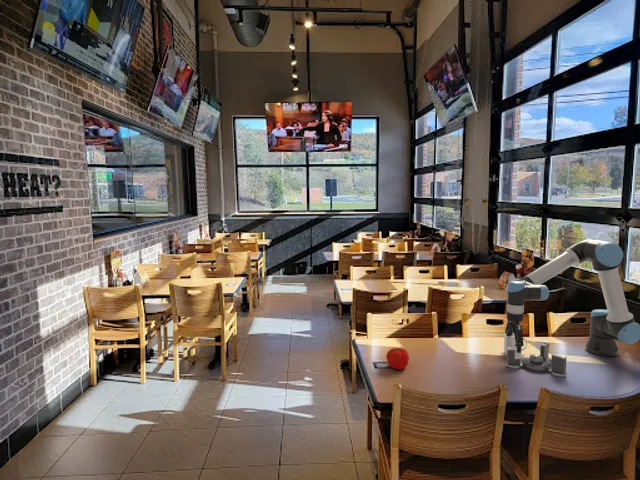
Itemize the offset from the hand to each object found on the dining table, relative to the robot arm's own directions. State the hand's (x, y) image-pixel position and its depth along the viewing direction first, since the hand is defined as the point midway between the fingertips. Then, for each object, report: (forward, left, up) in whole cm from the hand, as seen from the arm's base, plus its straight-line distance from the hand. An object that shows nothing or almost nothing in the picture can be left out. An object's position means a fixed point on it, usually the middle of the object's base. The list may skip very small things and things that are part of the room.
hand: (513, 353), depth 218 cm
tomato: (+58, +5, -7) cm, 58 cm away
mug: (-7, -18, -7) cm, 21 cm away
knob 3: (-18, +8, -5) cm, 21 cm away
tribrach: (-9, 0, -7) cm, 12 cm away
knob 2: (-18, -9, -5) cm, 21 cm away
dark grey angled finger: (0, 0, -5) cm, 5 cm away
